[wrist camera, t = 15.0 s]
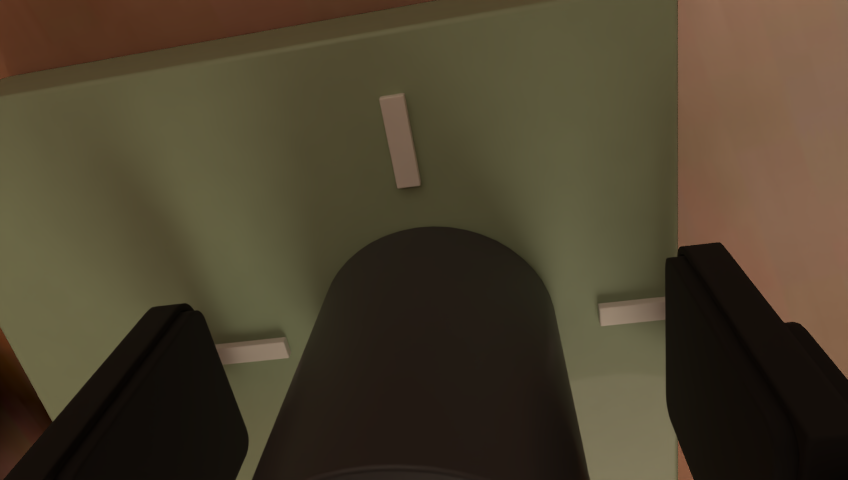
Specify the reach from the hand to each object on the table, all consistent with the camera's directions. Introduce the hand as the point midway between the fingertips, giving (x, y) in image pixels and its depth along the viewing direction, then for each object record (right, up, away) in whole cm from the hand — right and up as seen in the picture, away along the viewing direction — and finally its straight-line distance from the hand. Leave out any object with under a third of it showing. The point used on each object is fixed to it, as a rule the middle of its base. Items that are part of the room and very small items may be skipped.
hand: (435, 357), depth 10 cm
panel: (-2, +1, +4) cm, 4 cm away
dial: (0, 0, +1) cm, 1 cm away
